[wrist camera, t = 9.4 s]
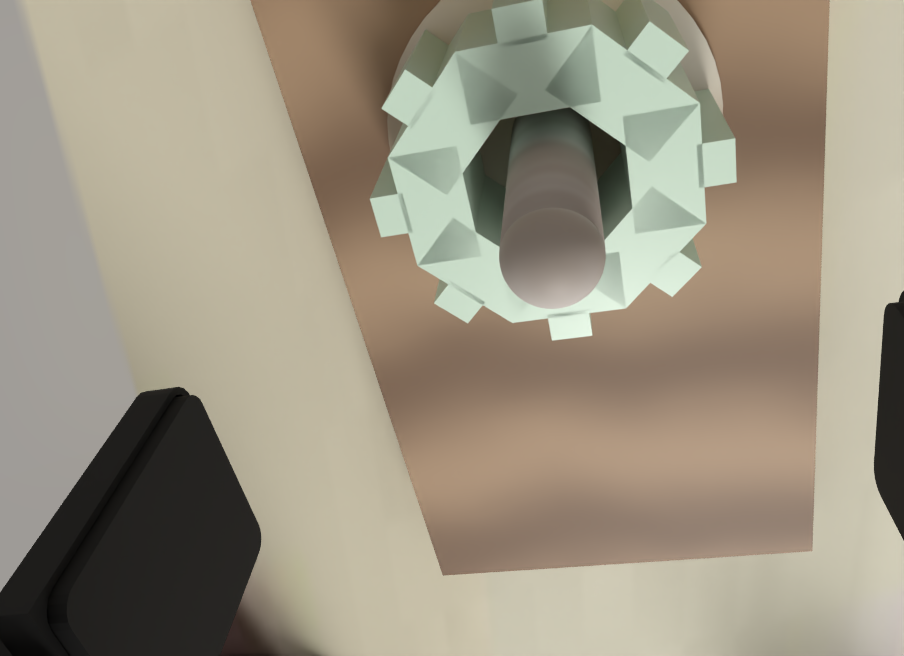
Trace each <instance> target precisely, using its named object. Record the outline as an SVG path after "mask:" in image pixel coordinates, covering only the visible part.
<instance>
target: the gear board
mask: <svg viewBox="0 0 904 656" xmlns="http://www.w3.org/2000/svg"><path fill="white" fill-rule="evenodd" d="M493 1H494V0H251V3H252V6H253V9H254V12H255V15H256V18H257V21H258V24H259V27H260V30H261V33H262V36H263V39H264V42H265V45H266V48H267V51H268V54H269V57H270V60H271V63H272V66H273V69H274V72H275V75H276V78H277V81H278V84H279V87H280V90H281V93H282V96H283V99H284V102H285V105H286V108H287V111H288V114H289V117H290V120H291V123H292V126H293V129H294V132H295V135H296V138H297V141H298V144H299V147H300V150H301V153H302V155H303V158H304V161H305V164H306V167H307V170H308V173H309V176H310V179H311V182H312V185H313V188H314V191H315V194H316V197H317V200H318V203H319V206H320V209H321V212H322V215H323V218H324V221H325V224H326V227H327V230H328V233H329V236H330V239H331V242H332V245H333V248H334V251H335V254H336V257H337V260H338V263H339V266H340V269H341V272H342V275H343V278H344V281H345V284H346V287H347V290H348V293H349V296H350V299H351V302H352V305H353V308H354V311H355V314H356V317H357V320H358V323H359V326H360V329H361V332H362V335H363V338H364V341H365V344H366V347H367V350H368V353H369V356H370V359H371V362H372V365H373V368H374V371H375V374H376V377H377V380H378V383H379V386H380V389H381V392H382V395H383V398H384V401H385V404H386V407H387V410H388V413H389V416H390V418H391V421H392V424H393V427H394V430H395V433H396V436H397V439H398V442H399V445H400V448H401V451H402V454H403V457H404V460H405V463H406V466H407V469H408V472H409V475H410V478H411V481H412V484H413V487H414V490H415V493H416V496H417V499H418V502H419V505H420V508H421V511H422V514H423V517H424V520H425V523H426V526H427V529H428V532H429V535H430V538H431V541H432V544H433V547H434V550H435V553H436V556H437V559H438V562H439V565H440V568H441V571H442V574H443V575H456V574H471V573H486V572H502V571H517V570H532V569H547V568H563V567H578V566H593V565H608V564H623V563H639V562H654V561H669V560H684V559H699V558H715V557H730V556H745V555H760V554H776V553H791V552H806V551H812V544H813V512H814V480H815V448H816V416H817V384H818V352H819V320H820V287H821V255H822V223H823V191H824V159H825V127H826V95H827V63H828V31H829V0H653V1H655V2H656V3H657V4H659V5H660V6H661V7H663V8H664V9H665V10H667V11H668V12H669V14H670V16H671V18H672V20H673V21H674V23H675V25H676V27H677V29H678V31H679V33H680V34H681V36H682V38H683V40H684V42H685V44H686V46H687V48H688V49H689V51H688V53H687V54H686V55H685V56H684V58H683V59H682V60H681V61H680V63H681V65H682V67H683V69H684V71H685V73H686V75H687V77H688V79H689V81H690V83H691V86H692V88H693V90H694V91H699V90H705V89H709V90H710V92H711V94H712V96H713V97H714V99H715V101H716V103H717V105H718V107H719V109H720V111H721V112H722V114H723V116H724V118H725V120H726V122H727V124H728V126H729V128H730V129H731V131H732V133H733V135H734V137H735V146H736V179H737V182H736V183H729V184H723V185H717V186H710V187H704V188H705V207H706V225H705V226H704V227H703V228H702V229H701V230H700V231H699V232H698V233H697V234H696V235H695V236H694V237H693V241H694V244H695V247H696V250H697V253H698V257H699V260H700V263H701V266H702V267H701V268H700V269H699V270H698V271H697V272H696V274H695V275H694V276H693V277H692V278H691V279H690V280H689V281H688V282H687V283H686V284H685V285H684V286H683V287H682V288H681V289H680V290H679V291H678V292H677V293H676V294H675V295H674V296H673V297H672V296H670V295H668V294H667V293H665V292H664V291H662V290H661V289H659V288H658V287H656V286H655V285H653V284H651V283H650V284H649V285H648V286H647V287H646V288H645V289H644V290H643V291H642V292H641V293H640V294H639V295H638V296H637V297H636V298H635V299H634V300H633V302H632V303H631V304H630V305H629V306H628V307H627V308H625V309H618V310H610V311H602V312H594V313H591V324H592V336H586V337H577V338H569V339H561V340H553V341H552V338H551V333H550V327H549V322H548V318H547V319H539V320H532V321H524V322H516V323H512V322H510V321H508V320H507V319H505V318H503V317H502V316H500V315H498V314H497V313H495V312H493V311H492V310H490V309H488V308H487V307H485V306H483V305H482V307H481V308H480V309H479V310H478V312H477V313H476V314H475V315H474V317H473V318H472V319H471V320H470V321H469V323H466V322H465V321H463V320H461V319H459V318H458V317H456V316H454V315H453V314H451V313H449V312H448V311H446V310H444V309H443V308H441V307H439V306H438V305H436V304H434V301H435V296H436V292H437V287H438V283H439V278H437V277H435V276H434V275H432V274H430V273H429V272H427V271H425V270H424V269H422V268H420V267H419V266H417V263H416V259H415V255H414V252H413V248H412V244H411V241H410V237H409V233H406V234H400V235H393V236H387V237H381V235H380V232H379V228H378V225H377V222H376V218H375V215H374V212H373V208H372V205H371V201H370V197H371V195H372V192H373V190H374V188H375V185H376V183H377V181H378V178H379V176H380V174H381V172H382V169H383V167H384V165H385V162H386V160H387V158H388V155H389V153H390V151H391V149H392V146H393V145H394V142H395V140H396V138H397V135H398V133H399V131H400V128H401V126H402V124H403V122H401V121H400V120H398V119H397V118H395V117H394V116H392V115H390V114H389V113H387V112H386V111H384V110H383V109H381V108H382V106H383V104H384V103H385V101H386V99H387V97H388V95H389V93H390V91H391V89H392V87H393V85H394V83H395V81H396V79H397V78H398V76H399V74H400V72H401V70H402V68H403V66H404V64H405V62H406V61H407V59H408V57H409V56H410V54H411V52H412V51H413V49H414V48H415V46H416V44H417V43H418V41H419V39H420V38H421V36H422V34H423V33H424V31H425V29H426V30H427V31H429V32H430V33H431V34H433V35H434V36H436V37H437V38H439V39H440V40H442V41H443V42H445V43H446V44H448V45H449V44H450V42H451V41H452V39H453V38H454V36H455V34H456V33H457V31H458V30H459V28H460V26H461V25H462V23H463V22H464V20H465V18H466V17H467V15H468V14H469V13H474V12H479V11H484V10H489V9H492V5H493ZM601 1H602V2H603V3H605V4H606V5H607V6H609V7H610V8H611V9H613V10H614V11H615V12H616V11H617V9H618V8H619V6H620V5H621V4H622V2H623V1H624V0H601ZM480 153H481V157H482V162H483V167H484V172H485V175H486V176H488V177H489V178H491V179H493V180H494V181H496V182H497V183H499V184H500V185H502V186H503V187H505V188H506V192H505V201H504V211H503V220H502V230H501V239H500V249H499V263H500V268H501V272H502V275H503V277H504V280H505V282H506V283H507V285H508V286H509V288H510V289H511V290H512V291H513V293H514V294H516V295H517V296H518V297H519V298H520V299H522V300H523V301H525V302H527V303H529V304H531V305H533V306H536V307H540V308H546V309H558V308H564V307H568V306H571V305H573V304H575V303H577V302H579V301H581V300H582V299H583V298H585V297H586V296H587V295H588V294H590V293H591V292H592V290H593V289H594V288H595V287H596V285H597V284H598V282H599V280H600V278H601V276H602V274H603V270H604V267H605V260H606V249H605V241H604V233H603V224H602V216H601V208H600V200H599V192H598V184H597V181H598V180H599V178H600V177H601V176H602V175H603V174H604V172H605V171H606V170H607V169H608V167H609V166H610V165H611V164H612V163H613V161H614V160H615V159H616V158H617V157H618V155H619V154H620V153H621V146H620V141H618V140H617V139H615V138H614V137H612V136H611V135H609V134H608V133H607V132H605V131H604V130H602V129H601V128H599V127H598V126H596V125H595V124H593V123H592V122H591V121H589V120H588V119H586V118H585V117H583V116H582V115H580V114H579V113H578V112H576V111H575V110H573V109H572V108H570V107H568V108H562V109H557V110H551V111H546V112H540V113H535V114H529V115H523V116H518V117H512V118H507V119H501V120H500V121H499V122H498V124H497V125H496V126H495V128H494V129H493V131H492V132H491V133H490V135H489V136H488V138H487V139H486V141H485V142H484V143H483V145H482V146H481V148H480Z"/></svg>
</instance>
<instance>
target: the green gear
mask: <svg viewBox="0 0 904 656" xmlns="http://www.w3.org/2000/svg"><path fill="white" fill-rule="evenodd" d="M688 51H689V49H688V48H687V46H686V44H685V42H684V40H683V38H682V36H681V34H680V33H679V31H678V29H677V27H676V25H675V23H674V21H673V20H672V18H671V16H670V14H669V12H668V11H667V10H665V9H664V8H663V7H661V6H660V5H659V4H657V3H656V2H655V1H653V0H624V1H623V2H622V4H621V5H620V6H619V8H618V9H617V11H616V12H615V11H614V10H613V9H611V8H610V7H609V6H607V5H606V4H605V3H603V2H602V1H601V0H494V1H493V5H492V9H489V10H484V11H479V12H474V13H469V14H468V15H467V17H466V18H465V20H464V22H463V23H462V25H461V26H460V28H459V30H458V31H457V33H456V34H455V36H454V38H453V39H452V41H451V42H450V44H449V45H448V44H446V43H445V42H443V41H442V40H440V39H439V38H437V37H436V36H434V35H433V34H431V33H430V32H429V31H427V30H426V29H425V31H424V33H423V34H422V36H421V38H420V39H419V41H418V43H417V44H416V46H415V48H414V49H413V51H412V52H411V54H410V56H409V57H408V59H407V61H406V62H405V64H404V66H403V68H402V70H401V72H400V74H399V76H398V78H397V79H396V81H395V83H394V85H393V87H392V89H391V91H390V93H389V95H388V97H387V99H386V101H385V103H384V104H383V106H382V108H381V109H383V110H384V111H386V112H387V113H389V114H390V115H392V116H394V117H395V118H397V119H398V120H400V121H401V122H403V124H402V126H401V128H400V131H399V133H398V135H397V138H396V140H395V142H394V145H393V146H392V149H391V151H390V153H389V155H388V158H387V160H386V162H385V165H384V167H383V169H382V172H381V174H380V176H379V178H378V181H377V183H376V185H375V188H374V190H373V192H372V195H371V197H370V201H371V205H372V208H373V212H374V215H375V218H376V222H377V225H378V228H379V232H380V235H381V237H387V236H393V235H400V234H406V233H409V237H410V241H411V244H412V248H413V252H414V255H415V259H416V263H417V266H419V267H420V268H422V269H424V270H425V271H427V272H429V273H430V274H432V275H434V276H435V277H437V278H439V283H438V287H437V292H436V296H435V301H434V304H436V305H438V306H439V307H441V308H443V309H444V310H446V311H448V312H449V313H451V314H453V315H454V316H456V317H458V318H459V319H461V320H463V321H465V322H466V323H469V321H470V320H471V319H472V318H473V317H474V315H475V314H476V313H477V312H478V310H479V309H480V308H481V307H482V305H483V306H485V307H487V308H488V309H490V310H492V311H493V312H495V313H497V314H498V315H500V316H502V317H503V318H505V319H507V320H508V321H510V322H512V323H516V322H524V321H532V320H539V319H547V318H548V322H549V327H550V333H551V338H552V341H553V340H561V339H569V338H577V337H586V336H592V324H591V313H594V312H602V311H610V310H618V309H625V308H627V307H628V306H629V305H630V304H631V303H632V302H633V300H634V299H635V298H636V297H637V296H638V295H639V294H640V293H641V292H642V291H643V290H644V289H645V288H646V287H647V286H648V285H649V284H650V283H651V284H653V285H655V286H656V287H658V288H659V289H661V290H662V291H664V292H665V293H667V294H668V295H670V296H672V297H673V296H674V295H675V294H676V293H677V292H678V291H679V290H680V289H681V288H682V287H683V286H684V285H685V284H686V283H687V282H688V281H689V280H690V279H691V278H692V277H693V276H694V275H695V274H696V272H697V271H698V270H699V269H700V268H701V267H702V266H701V263H700V260H699V257H698V253H697V250H696V247H695V244H694V241H693V237H694V236H695V235H696V234H697V233H698V232H699V231H700V230H701V229H702V228H703V227H704V226H705V225H706V207H705V188H704V187H710V186H717V185H723V184H729V183H736V182H737V179H736V146H735V137H734V135H733V133H732V131H731V129H730V128H729V126H728V124H727V122H726V120H725V118H724V116H723V114H722V112H721V111H720V109H719V107H718V105H717V103H716V101H715V99H714V97H713V96H712V94H711V92H710V90H709V89H705V90H699V91H694V90H693V88H692V86H691V83H690V81H689V79H688V77H687V75H686V73H685V71H684V69H683V67H682V65H681V63H680V61H681V60H682V59H683V58H684V56H685V55H686V54H687V53H688ZM568 107H570V108H572V109H573V110H575V111H576V112H578V113H579V114H580V115H582V116H583V117H585V118H586V119H588V120H589V121H591V122H592V123H593V124H595V125H596V126H598V127H599V128H601V129H602V130H604V131H605V132H607V133H608V134H609V135H611V136H612V137H614V138H615V139H617V140H618V141H620V146H621V153H620V154H619V155H618V157H617V158H616V159H615V160H614V161H613V163H612V164H611V165H610V166H609V167H608V169H607V170H606V171H605V172H604V174H603V175H602V176H601V177H600V178H599V180H598V181H597V184H598V192H599V200H600V208H601V216H602V224H603V233H604V241H605V249H606V260H605V267H604V270H603V274H602V276H601V278H600V280H599V282H598V284H597V285H596V287H595V288H594V289H593V290H592V292H591V293H590V294H588V295H587V296H586V297H585V298H583V299H582V300H581V301H579V302H577V303H575V304H573V305H571V306H568V307H564V308H558V309H546V308H540V307H536V306H533V305H531V304H529V303H527V302H525V301H523V300H522V299H520V298H519V297H518V296H517V295H516V294H514V293H513V291H512V290H511V289H510V288H509V286H508V285H507V283H506V282H505V280H504V277H503V275H502V272H501V268H500V263H499V249H500V239H501V230H502V220H503V211H504V201H505V192H506V188H505V187H503V186H502V185H500V184H499V183H497V182H496V181H494V180H493V179H491V178H489V177H488V176H486V175H485V172H484V167H483V162H482V157H481V153H480V148H481V146H482V145H483V143H484V142H485V141H486V139H487V138H488V136H489V135H490V133H491V132H492V131H493V129H494V128H495V126H496V125H497V124H498V122H499V121H500V120H501V119H507V118H512V117H518V116H523V115H529V114H535V113H540V112H546V111H551V110H557V109H562V108H568Z"/></svg>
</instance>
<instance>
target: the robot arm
mask: <svg viewBox="0 0 904 656" xmlns="http://www.w3.org/2000/svg"><path fill="white" fill-rule="evenodd" d="M874 474H875V480H876V484H877V488H878V491H879V493H880V495H881V497H882V499H883V501H884V503H885V505H886V507H887V509H888V511H889V513H890V515H891V517H892V519H893V521H894V523H895V524H896V526H897V528H898V530H899V532H900V534H901V536H902V538H903V540H904V291H903V292H902V293H901V296H900V298H899V302H896V303H889V304H888V305H887V306H886V308H885V312H884V323H883V338H882V352H881V367H880V382H879V397H878V412H877V426H876V441H875V456H874ZM260 547H261V532H260V528H259V525H258V522H257V520H256V518H255V516H254V514H253V512H252V509H251V507H250V505H249V503H248V501H247V499H246V496H245V494H244V492H243V490H242V488H241V486H240V484H239V481H238V479H237V477H236V475H235V473H234V471H233V468H232V466H231V464H230V462H229V460H228V458H227V456H226V453H225V451H224V449H223V447H222V445H221V443H220V440H219V438H218V436H217V434H216V432H215V430H214V428H213V425H212V423H211V421H210V419H209V417H208V415H207V413H206V410H205V408H204V406H203V404H202V402H201V401H200V399H199V398H198V397H197V396H194V395H189V393H188V392H187V391H186V390H185V389H184V388H180V387H175V388H168V389H160V390H153V391H146V392H142V393H140V394H139V395H138V396H137V397H136V399H135V400H134V402H133V403H132V405H131V406H130V408H129V409H128V410H127V412H126V413H125V415H124V416H123V417H122V419H121V420H120V422H119V423H118V425H117V426H116V427H115V429H114V431H113V432H112V433H111V435H110V436H109V438H108V439H107V440H106V442H105V443H104V445H103V446H102V448H101V449H100V450H99V452H98V453H97V455H96V456H95V458H94V459H93V461H92V462H91V463H90V465H89V466H88V468H87V469H86V470H85V472H84V473H83V475H82V476H81V478H80V479H79V481H78V482H77V483H76V485H75V486H74V488H73V489H72V490H71V492H70V493H69V495H68V496H67V498H66V499H65V500H64V502H63V503H62V505H61V506H60V508H59V509H58V511H57V512H56V513H55V515H54V516H53V518H52V519H51V521H50V522H49V523H48V525H47V526H46V528H45V529H44V531H43V532H42V534H41V535H40V536H39V538H38V539H37V541H36V542H35V543H34V545H33V546H32V548H31V549H30V551H29V552H28V553H27V555H26V557H25V558H24V559H23V561H22V562H21V564H20V565H19V567H18V568H17V569H16V571H15V572H14V574H13V575H12V577H11V578H10V579H9V581H8V582H7V584H6V585H5V586H4V588H3V589H2V591H1V592H0V656H220V654H221V651H222V648H223V646H224V643H225V641H226V638H227V635H228V633H229V630H230V627H231V625H232V622H233V620H234V617H235V614H236V612H237V609H238V606H239V604H240V601H241V599H242V596H243V593H244V591H245V588H246V585H247V583H248V580H249V577H250V575H251V572H252V570H253V567H254V564H255V562H256V559H257V556H258V554H259V551H260Z"/></svg>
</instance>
